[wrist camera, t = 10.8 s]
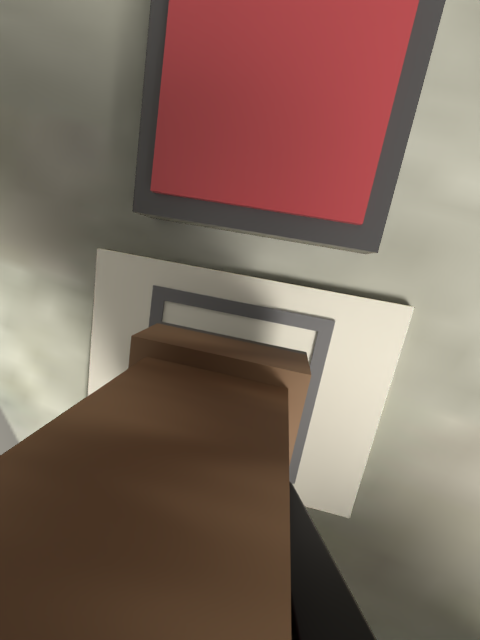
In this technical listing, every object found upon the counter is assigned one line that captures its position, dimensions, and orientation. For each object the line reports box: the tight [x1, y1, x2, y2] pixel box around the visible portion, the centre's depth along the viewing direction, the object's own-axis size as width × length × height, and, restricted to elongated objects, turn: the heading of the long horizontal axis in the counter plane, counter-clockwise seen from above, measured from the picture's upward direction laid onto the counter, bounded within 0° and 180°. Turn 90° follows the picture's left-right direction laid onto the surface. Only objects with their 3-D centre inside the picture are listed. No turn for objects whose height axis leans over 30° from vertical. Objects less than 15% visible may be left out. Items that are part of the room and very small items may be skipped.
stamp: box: [0, 322, 311, 640], centre depth 7 cm, size 5×5×8 cm
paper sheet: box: [88, 248, 415, 518], centre depth 12 cm, size 12×9×1 cm
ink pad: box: [133, 0, 446, 254], centre depth 9 cm, size 8×7×2 cm
